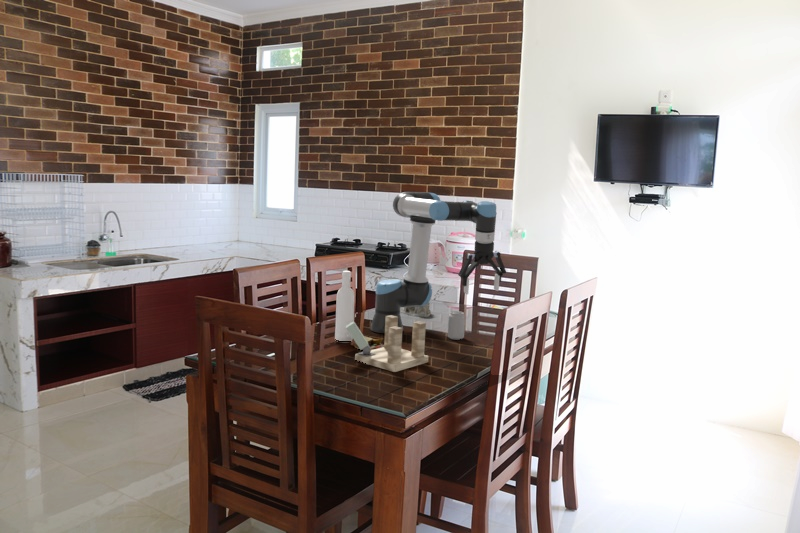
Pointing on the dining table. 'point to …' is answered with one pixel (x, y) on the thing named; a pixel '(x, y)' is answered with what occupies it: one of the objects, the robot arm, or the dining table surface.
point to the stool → (397, 348)
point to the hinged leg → (358, 337)
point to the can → (456, 325)
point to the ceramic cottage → (417, 311)
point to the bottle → (344, 308)
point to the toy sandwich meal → (370, 343)
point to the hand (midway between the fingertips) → (481, 291)
